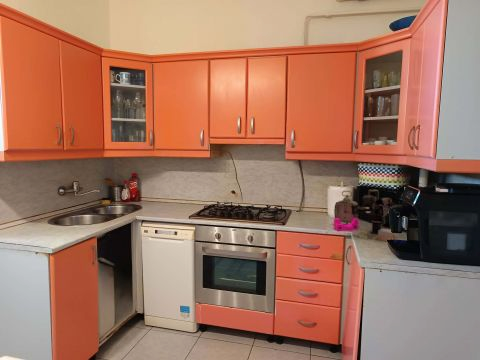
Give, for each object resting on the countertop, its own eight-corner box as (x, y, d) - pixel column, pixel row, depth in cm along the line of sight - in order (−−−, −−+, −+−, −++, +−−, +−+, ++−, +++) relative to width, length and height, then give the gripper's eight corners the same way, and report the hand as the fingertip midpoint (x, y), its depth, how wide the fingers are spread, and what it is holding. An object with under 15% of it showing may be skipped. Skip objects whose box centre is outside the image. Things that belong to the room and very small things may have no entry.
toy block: (336, 231, 206) (337, 220, 206) (333, 229, 212) (334, 218, 212) (359, 231, 207) (359, 219, 206) (355, 228, 213) (355, 217, 212)
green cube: (362, 236, 193) (362, 229, 192) (369, 238, 190) (369, 230, 189) (359, 238, 190) (359, 230, 189) (366, 239, 187) (367, 232, 186)
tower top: (382, 233, 191) (382, 228, 191) (394, 235, 186) (394, 230, 186) (378, 235, 186) (378, 230, 185) (390, 237, 181) (390, 232, 181)
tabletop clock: (333, 226, 220) (334, 190, 218) (337, 223, 228) (338, 189, 225) (355, 228, 212) (356, 192, 210) (358, 226, 220) (359, 190, 217)
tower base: (380, 237, 192) (381, 232, 192) (396, 240, 186) (396, 235, 186) (375, 240, 186) (376, 235, 186) (392, 243, 180) (392, 238, 180)
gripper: (355, 194, 199) (345, 199, 188) (386, 194, 187) (377, 199, 175) (357, 211, 200) (347, 218, 189) (388, 212, 187) (379, 219, 176)
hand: (362, 213), depth 182 cm, fingers open, 9 cm apart
